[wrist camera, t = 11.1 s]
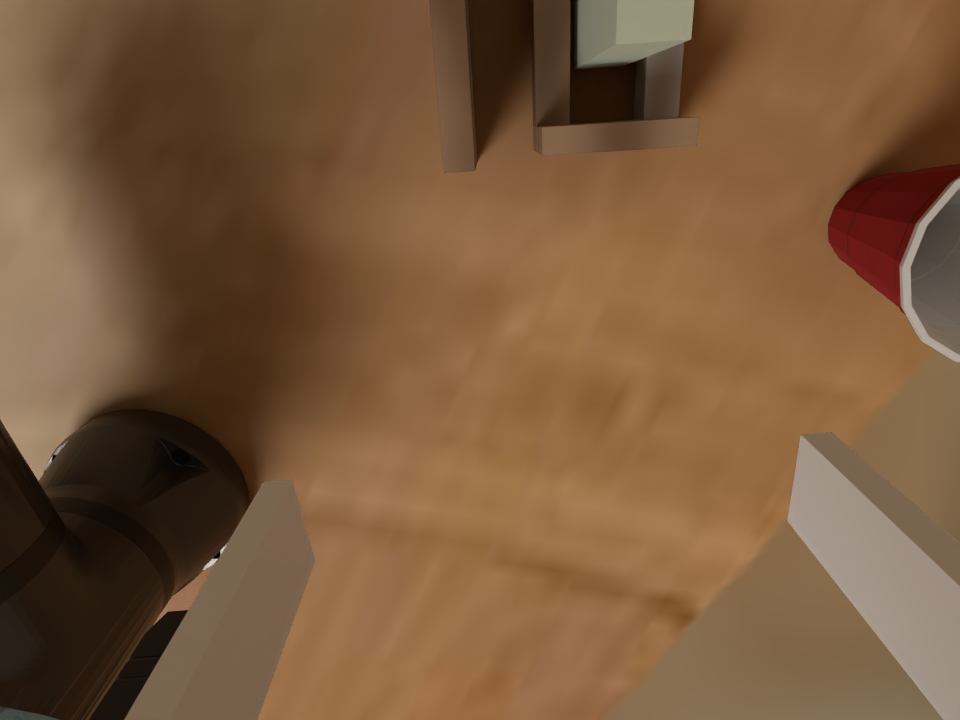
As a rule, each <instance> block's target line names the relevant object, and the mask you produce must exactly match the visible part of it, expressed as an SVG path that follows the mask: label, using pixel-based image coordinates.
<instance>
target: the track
mask: <svg viewBox="0 0 960 720" xmlns="http://www.w3.org/2000/svg"><path fill="white" fill-rule="evenodd" d="M429 1H430V13H431V25H432V37H433V49H434V61H435V73H436V85H437V97H438V110H439V122H440V134H441V146H442V158H443V170H444V173H451V172H467V171H475V169H476V165H477V161H478V156H477V139H476V122H475V105H474V88H473V71H472V54H471V37H470V20H469V3H468V0H429ZM531 35H532V85H533V135H534V150H535V151H536V152H538V153H539V154H541V155H542V156H546V155H561V154H577V153H593V152H608V151H624V150H640V149H656V148H671V147H687V146H697V142H698V131H699V120H700V117H678V116H679V103H680V90H681V77H682V64H683V51H684V42H683V43H681V44H678V45H676V46H673V47H671V48H668V49H666V50H663V51H660V52H658V53H655V54H653V55H650V56H648V57H645V58H643V59H640V60H638V61H636V69H635V90H634V112H633V120H619V121H603V122H588V123H573V124H570V0H531Z"/></svg>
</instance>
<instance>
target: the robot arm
mask: <svg viewBox="0 0 960 720" xmlns="http://www.w3.org/2000/svg"><path fill="white" fill-rule="evenodd" d="M788 522H789V524H790V525H791V526H792V527H793V529H794V530H795V531H796V532H797V534H798V535H799V536H800V537H801V539H802V540H803V541H804V543H805V544H806V545H807V546H808V548H809V549H810V550H811V552H812V553H813V554H814V555H815V557H816V558H817V559H818V560H819V562H820V563H821V564H822V566H823V567H824V568H825V569H826V571H827V572H828V573H829V574H830V576H831V577H832V578H833V580H834V581H835V582H836V583H837V585H838V586H839V587H840V588H841V590H842V591H843V592H844V594H845V595H846V596H847V597H848V599H849V600H850V601H851V603H852V604H853V605H854V606H855V608H856V609H857V610H858V611H859V613H860V614H861V615H862V617H863V618H864V619H865V620H866V622H867V623H868V624H869V625H870V627H871V628H872V629H873V631H874V632H875V633H876V634H877V636H878V637H879V638H880V639H881V640H882V642H883V643H884V644H885V646H886V647H887V648H888V650H889V651H890V652H891V653H892V655H893V656H894V657H895V659H896V660H897V661H898V662H899V663H900V665H901V666H902V667H903V669H904V670H905V671H906V673H907V674H908V675H909V676H910V678H911V679H912V680H913V681H914V683H915V684H916V685H917V687H918V688H919V689H920V690H921V692H922V693H923V694H924V695H925V697H926V698H927V699H928V701H929V702H930V703H931V704H932V706H933V707H934V708H935V709H936V711H937V712H938V713H939V714H940V716H941V717H942V718H943V720H960V543H959V542H958V541H957V540H956V539H954V538H953V537H952V536H951V535H950V534H949V533H948V532H946V531H945V530H944V529H943V528H942V527H941V526H940V525H938V524H937V523H936V522H935V521H934V520H933V519H931V518H930V517H929V516H928V515H927V514H926V513H925V512H923V511H922V510H921V509H920V508H919V507H917V506H916V505H915V504H914V503H913V502H912V501H911V500H909V499H908V498H907V497H906V496H905V495H904V494H902V492H900V491H899V490H898V489H897V488H896V487H895V486H893V485H892V484H891V483H890V482H889V481H888V480H886V479H885V478H884V477H883V476H882V475H881V474H880V473H878V472H877V471H876V470H875V469H874V468H873V467H871V466H870V465H869V464H868V463H867V462H866V461H865V460H863V459H862V458H861V457H860V456H859V455H858V454H857V453H855V452H854V451H853V450H852V449H851V448H850V447H848V446H847V445H846V444H845V443H844V442H843V441H842V440H840V439H839V438H838V437H837V436H836V435H835V434H833V433H832V432H825V433H814V434H802V435H801V438H800V444H799V451H798V457H797V463H796V470H795V476H794V483H793V489H792V495H791V502H790V508H789V514H788ZM314 562H315V558H314V554H313V551H312V547H311V544H310V540H309V537H308V533H307V530H306V526H305V523H304V519H303V516H302V512H301V508H300V505H299V501H298V498H297V494H296V491H295V487H294V484H293V480H292V479H291V480H280V481H268V482H263V484H262V485H261V487H260V489H259V490H258V492H257V494H256V496H255V497H254V499H253V501H252V502H251V504H250V506H249V508H248V492H247V488H246V484H245V481H244V478H243V476H242V474H241V472H240V470H239V468H238V466H237V465H236V463H235V462H234V460H233V459H232V458H231V456H230V455H229V454H228V453H227V452H226V451H225V449H224V448H223V447H222V446H221V445H220V444H218V443H217V442H216V441H215V440H214V439H213V438H211V437H210V436H209V435H207V434H206V433H204V432H203V431H201V430H200V429H198V428H196V427H195V426H193V425H191V424H189V423H187V422H185V421H182V420H180V419H178V418H175V417H172V416H169V415H166V414H162V413H157V412H152V411H144V410H124V411H116V412H111V413H107V414H104V415H101V416H99V417H96V418H94V419H93V420H91V421H89V422H88V423H86V424H85V425H83V426H82V427H81V428H79V429H78V430H77V431H75V432H74V433H73V434H71V435H70V436H69V437H68V438H66V439H65V440H64V441H63V442H62V443H61V444H60V445H59V446H58V447H57V449H56V450H55V451H54V453H53V454H52V456H51V458H50V459H49V461H48V463H47V465H46V468H45V471H44V474H43V475H42V477H41V478H40V480H39V481H38V480H37V478H36V477H35V475H34V473H33V472H32V470H31V469H30V467H29V465H28V464H27V462H26V461H25V459H24V457H23V456H22V454H21V453H20V451H19V449H18V448H17V446H16V445H15V443H14V441H13V440H12V438H11V437H10V435H9V433H8V432H7V430H6V429H5V427H4V425H3V423H2V422H1V420H0V720H257V719H258V717H259V714H260V711H261V708H262V706H263V703H264V700H265V697H266V695H267V692H268V689H269V686H270V683H271V681H272V678H273V675H274V672H275V670H276V667H277V664H278V661H279V659H280V656H281V653H282V650H283V648H284V645H285V642H286V639H287V637H288V634H289V631H290V628H291V626H292V623H293V620H294V617H295V615H296V612H297V609H298V606H299V604H300V601H301V598H302V595H303V593H304V590H305V587H306V584H307V582H308V579H309V576H310V573H311V571H312V568H313V565H314ZM214 563H216V564H215V566H214V567H213V569H212V571H211V572H210V574H209V576H208V578H207V579H206V581H205V583H204V584H203V586H202V588H201V589H200V591H199V593H198V595H197V596H196V598H195V600H194V601H193V603H192V605H191V607H190V608H189V610H184V611H172V612H167V613H166V614H165V615H164V616H163V617H162V618H161V619H160V620H159V621H158V622H157V623H156V624H155V625H153V624H154V623H155V621H156V620H157V618H158V616H159V615H160V613H161V612H162V610H163V609H164V607H165V606H166V604H167V603H168V601H169V600H170V599H171V597H172V596H173V595H175V594H176V593H177V592H179V591H180V590H181V589H182V588H184V587H185V586H186V585H188V584H189V583H190V582H191V581H192V580H194V579H195V578H196V577H197V576H198V575H199V574H200V573H201V572H202V571H203V570H205V569H207V568H209V567H210V566H212V565H213V564H214Z"/></svg>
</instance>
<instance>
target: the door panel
mask: <svg viewBox="0 0 960 720" xmlns="http://www.w3.org/2000/svg"><path fill="white" fill-rule="evenodd" d="M693 12H694V0H574V69H586V68H601V67H615V66H625V65H627V64H630V63H633V62H635V61H638V60H640V59H643V58H645V57H648V56H650V55H653V54H655V53H658V52H660V51H663V50H666V49H668V48H671V47H673V46H676V45H678V44H681V43H683V42H686V41H688V40H691V36H692V24H693Z"/></svg>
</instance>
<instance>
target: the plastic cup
mask: <svg viewBox="0 0 960 720" xmlns="http://www.w3.org/2000/svg"><path fill="white" fill-rule="evenodd" d="M828 235H829V242H830V244H831V246H832V248H833V249H834V251H835V253H836V254H837V256H838V257H839V259H841V260H842V261H843V262H845V263H846V264H847V265H849V266H850V267H851V268H853V269H854V270H855V271H856V273H857V274H858V275H859V276H860V277H861V278H863V279H864V280H865V281H866V282H868V283H869V284H870V285H872V286H873V287H874V288H875V289H877V290H878V291H879V292H880V293H882V294H883V295H884V296H885V297H887V298H888V299H889V300H891V301H892V302H893V303H894V304H896V305H897V306H898V307H899V308H900V310H901V311H902V312H903V313H904V314H905V315H906V316H907V318H908V319H909V321H910V323H911V325H912V326H913V328H914V330H915V332H916V333H917V335H918V337H919V338H920V339H921V340H922V342H924V343H926V344H927V345H929V346H931V347H932V348H934V349H936V350H937V351H939V352H940V353H942V354H944V355H945V356H947V357H949V358H951V359H952V360H954V361H956V362H960V164H958V165H950V166H942V167H934V168H926V169H920V170H916V171H912V172H905V173H894V174H887V175H883V176H879V177H876V178H872V179H869V180H866V181H863V182H861V183H860V184H858V185H857V186H855V187H854V188H852V189H851V190H849V191H848V192H846V194H845V195H844V196H843V197H842V199H841V200H840V201H839V202H838V204H837V205H836V206H835V207H834V210H833V213H832V215H831V218H830V221H829V224H828Z"/></svg>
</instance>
